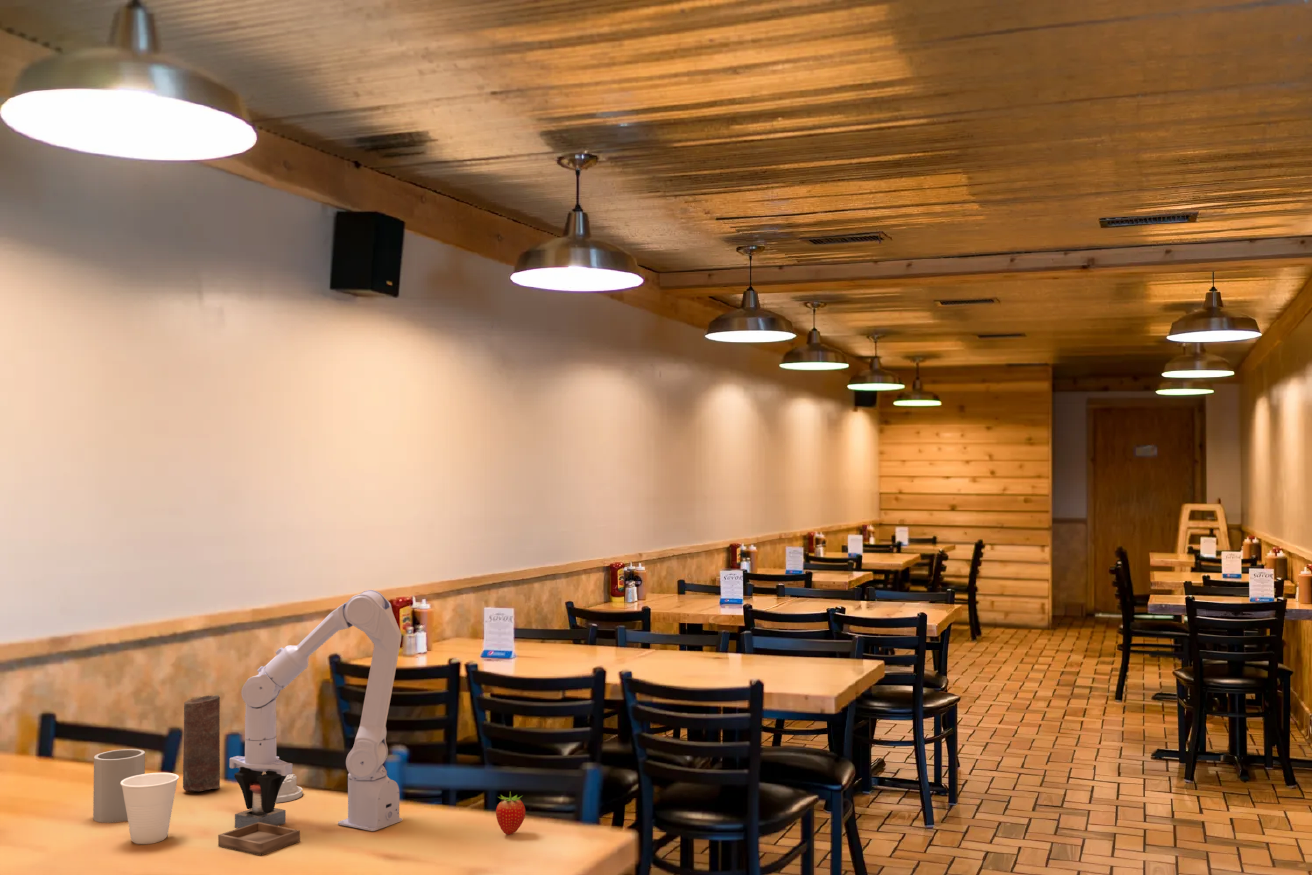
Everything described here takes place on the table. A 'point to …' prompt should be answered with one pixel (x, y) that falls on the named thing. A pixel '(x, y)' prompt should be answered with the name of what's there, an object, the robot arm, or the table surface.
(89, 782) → the table surface
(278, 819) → the block
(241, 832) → the tray
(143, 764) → the cup
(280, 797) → the white rounded piece
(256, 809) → the spice jar
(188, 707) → the candle
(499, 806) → the fruit
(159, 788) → the cup
